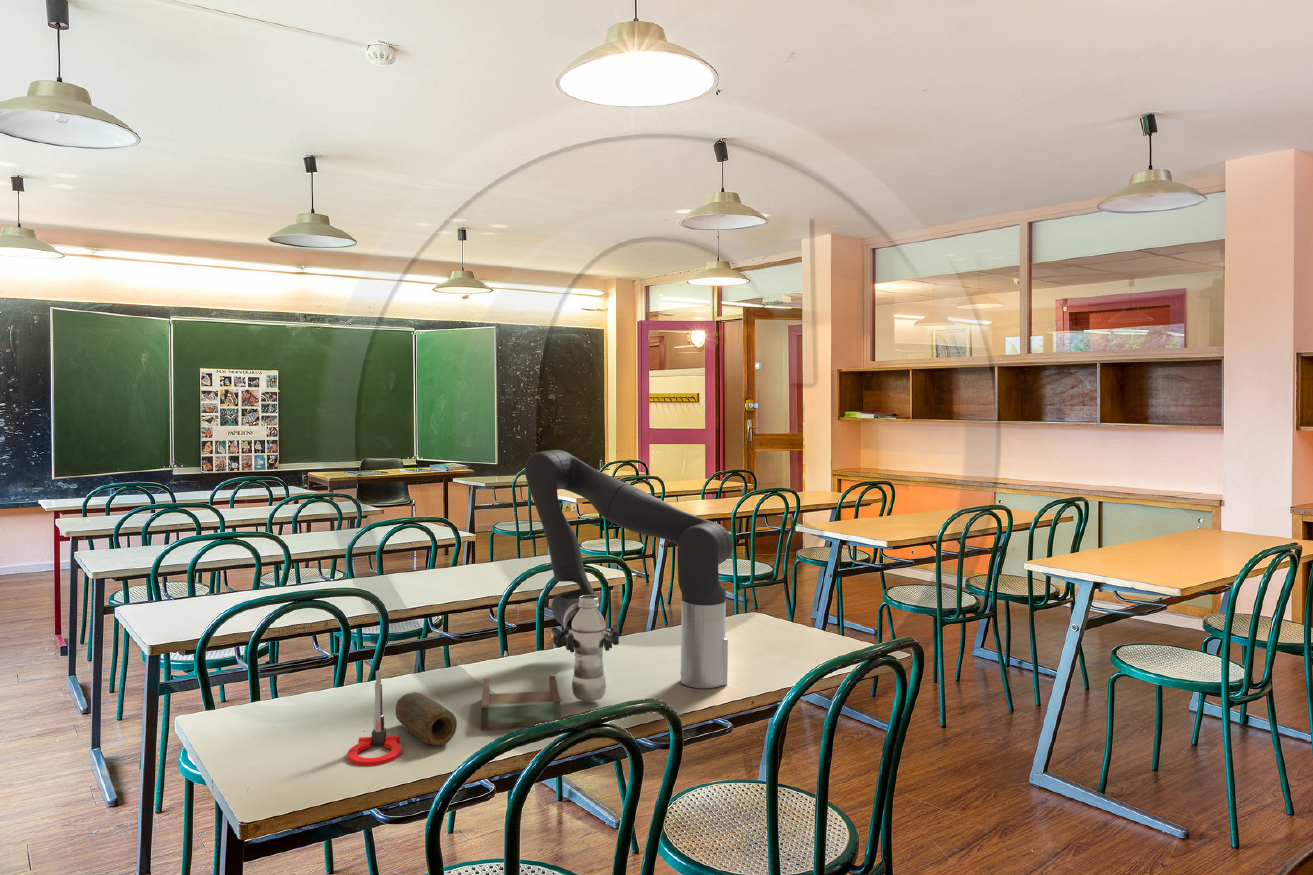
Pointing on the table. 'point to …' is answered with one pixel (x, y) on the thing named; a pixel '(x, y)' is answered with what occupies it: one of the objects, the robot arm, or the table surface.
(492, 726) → the bay
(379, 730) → the tow hook
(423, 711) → the brown wooden tube
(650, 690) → the table surface
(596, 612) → the plastic bottle
